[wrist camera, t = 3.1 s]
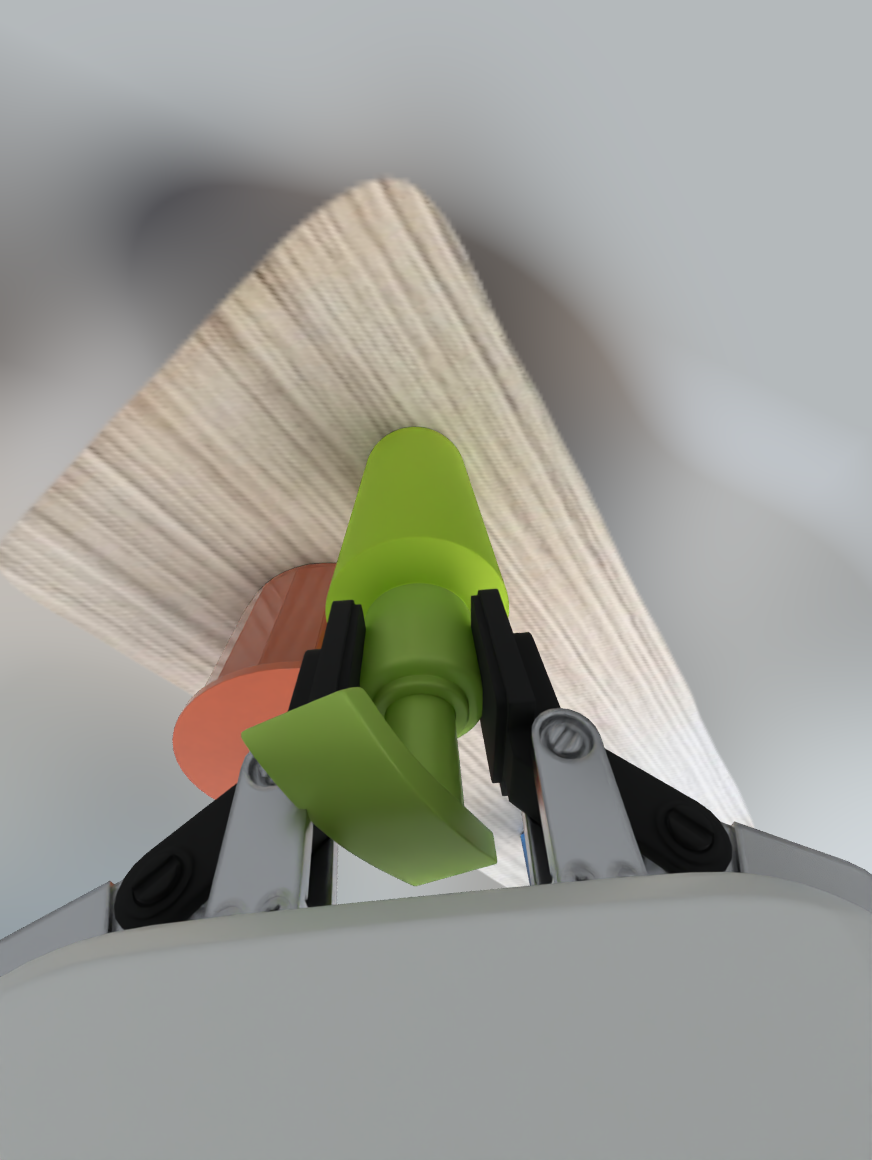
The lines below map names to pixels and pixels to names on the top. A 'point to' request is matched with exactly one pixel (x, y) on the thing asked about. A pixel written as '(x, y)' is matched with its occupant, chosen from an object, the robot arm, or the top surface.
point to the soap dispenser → (399, 673)
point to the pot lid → (229, 722)
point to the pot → (280, 620)
